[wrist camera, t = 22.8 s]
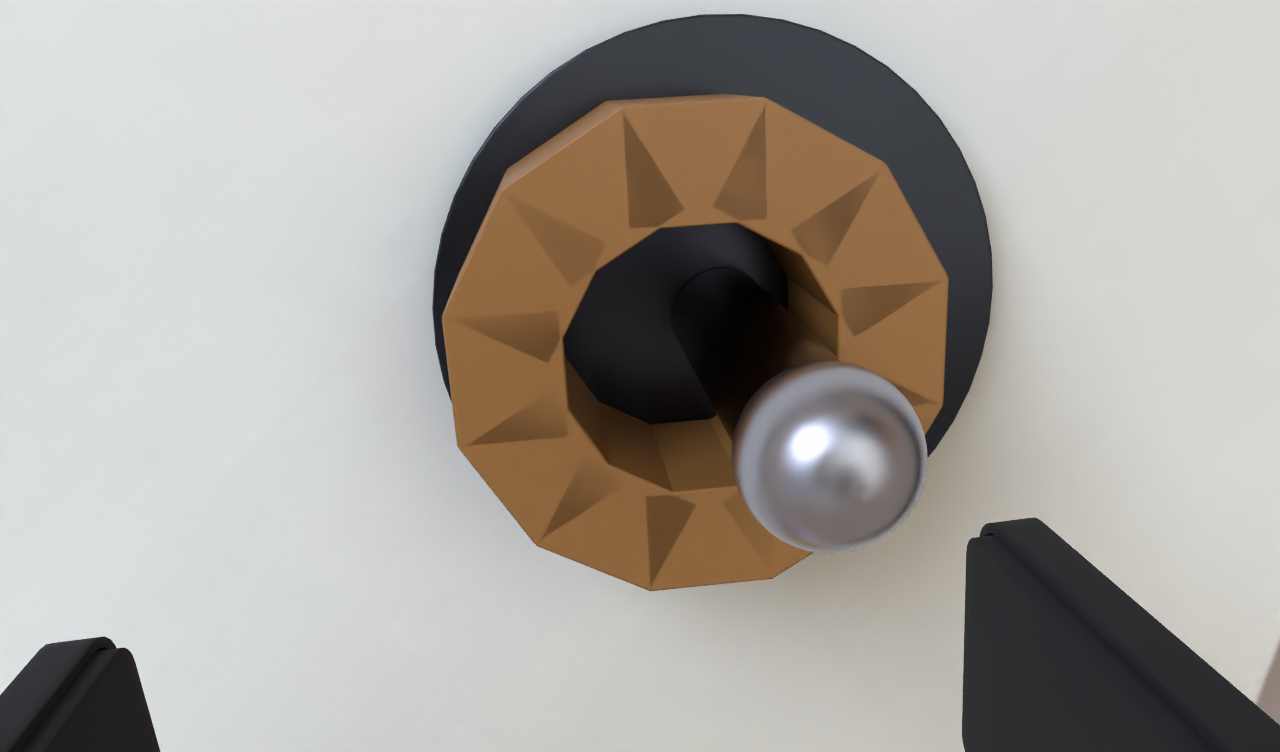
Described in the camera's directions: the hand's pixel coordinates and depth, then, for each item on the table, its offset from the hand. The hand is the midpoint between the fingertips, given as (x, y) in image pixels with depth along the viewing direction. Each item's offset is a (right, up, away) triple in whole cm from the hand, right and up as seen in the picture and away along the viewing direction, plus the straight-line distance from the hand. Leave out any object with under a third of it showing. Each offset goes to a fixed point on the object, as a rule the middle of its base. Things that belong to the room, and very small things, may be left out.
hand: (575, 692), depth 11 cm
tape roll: (+2, +5, +14) cm, 15 cm away
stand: (+3, +6, +16) cm, 17 cm away
